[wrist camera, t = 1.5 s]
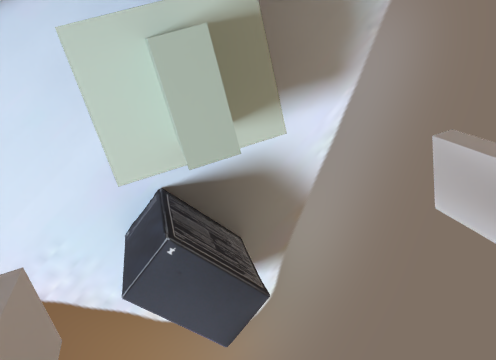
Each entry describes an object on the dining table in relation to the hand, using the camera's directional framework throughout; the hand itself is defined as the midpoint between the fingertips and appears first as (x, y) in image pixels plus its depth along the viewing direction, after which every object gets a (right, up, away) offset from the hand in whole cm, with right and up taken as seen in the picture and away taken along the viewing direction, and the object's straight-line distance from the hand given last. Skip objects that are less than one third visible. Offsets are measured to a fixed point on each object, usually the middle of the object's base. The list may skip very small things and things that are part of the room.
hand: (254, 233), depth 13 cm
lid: (-5, +8, +16) cm, 19 cm away
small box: (-7, -4, +29) cm, 30 cm away
